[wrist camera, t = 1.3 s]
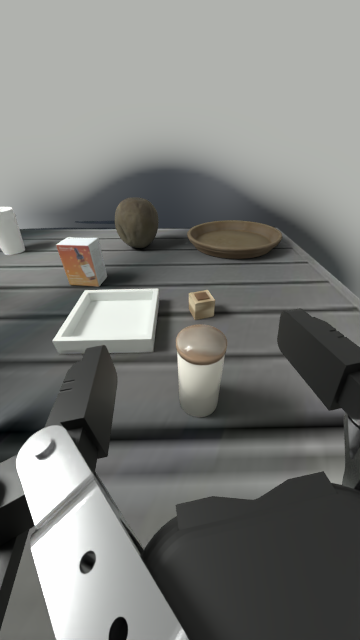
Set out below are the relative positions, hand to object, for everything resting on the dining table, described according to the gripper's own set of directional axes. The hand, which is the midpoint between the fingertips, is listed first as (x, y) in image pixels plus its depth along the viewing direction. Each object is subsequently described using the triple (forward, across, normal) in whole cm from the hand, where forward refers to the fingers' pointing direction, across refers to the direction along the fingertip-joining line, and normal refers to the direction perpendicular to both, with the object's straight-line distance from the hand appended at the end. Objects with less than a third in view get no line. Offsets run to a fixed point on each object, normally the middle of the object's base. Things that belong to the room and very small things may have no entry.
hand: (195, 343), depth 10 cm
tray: (+30, +11, +16) cm, 36 cm away
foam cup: (+77, +49, +8) cm, 91 cm away
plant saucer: (+69, -25, +16) cm, 75 cm away
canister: (+12, -1, +19) cm, 23 cm away
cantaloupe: (+73, +6, +12) cm, 74 cm away
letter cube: (+31, -6, +18) cm, 36 cm away
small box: (+50, +20, +13) cm, 55 cm away
